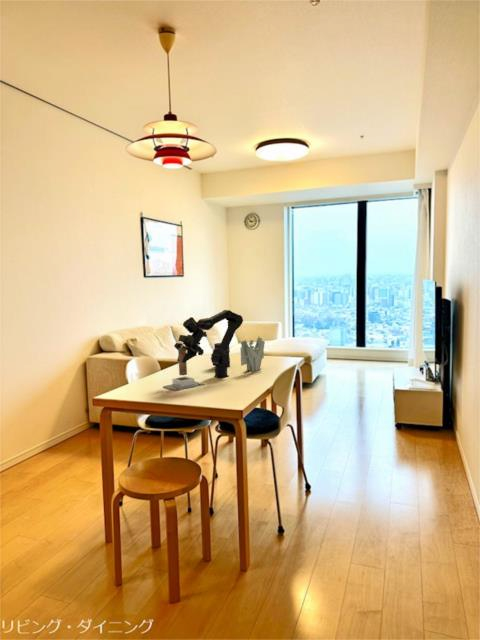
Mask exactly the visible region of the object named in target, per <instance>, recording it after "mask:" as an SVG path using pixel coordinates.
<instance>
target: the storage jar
mask: <svg viewBox="0 0 480 640" xmlns="http://www.w3.org/2000/svg"><path fill="white" fill-rule="evenodd" d="M213 344H214V349H216V350H217V349H218V348H219V346H220V344H221V342H217V343H213ZM214 349H213V350H214ZM230 349H231V348H230V346H229V347H228V349H227V358H226V359H227V360H228V361H229V362H230V364H229V366H228V367H229V368H230V367H231V358H230Z"/></svg>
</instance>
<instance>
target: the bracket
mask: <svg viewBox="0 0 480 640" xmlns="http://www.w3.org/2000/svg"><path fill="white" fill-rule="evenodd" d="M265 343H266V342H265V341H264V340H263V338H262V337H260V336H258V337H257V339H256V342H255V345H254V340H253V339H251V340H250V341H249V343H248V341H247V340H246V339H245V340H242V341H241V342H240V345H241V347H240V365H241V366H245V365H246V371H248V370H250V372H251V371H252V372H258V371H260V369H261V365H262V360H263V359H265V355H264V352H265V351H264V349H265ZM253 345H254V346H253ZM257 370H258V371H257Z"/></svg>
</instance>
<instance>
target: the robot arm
mask: <svg viewBox="0 0 480 640" xmlns="http://www.w3.org/2000/svg"><path fill="white" fill-rule="evenodd" d="M224 320H226V321H227V328H226V331H225V332H224V335H223V337H222V340H221V341H220V343H221V344H220V346H219V348H218V349H217V350H216V349H213V351H212V353H211V355H210V356H211V357H210V361H211V363H212V366H214V375H213V377H214V378H218V379H223V378H228V377H230V375H229V374H228V368H227V367H228V366H229V364H230V365H231V361H230V362H229V361H228V360H227V359H226V358H227V349H228V347H229V348H230V344H231V342H232V340H233V337H234V334H235V333H236V331H237V330H238V329H239V328H240V327H241V326H242V324H243V322H244V319H243V316H242V315H241V314H238V313H235V312H233V311H232V310H230V309H224V310H222V311H221V312H218V313H217V314H214V315H212V316H210V317H205V318H201V319H199V320H198V321H196V320H195V319H194V317H192V316H191V317H189V318H188V319H186V320H185V321H183V323H182V324H183V325H182V326H183V327H184V328H185V329H186V331H188V332H189V333H190V334H187V335H185V334H179V337H178V341H179V342H175V344H174V346H173V347H174V348H175V349H176V350H177V351H178V348H186V355H185V357H184V359H183V363H184V362H186V363H187V362H188V361H189V360H191V359H192V358H194V357H198V356H203V354H204V353H205V352H204V350H205V349H203V348H202V347H201V346H200V345H201V341H202V338H204V337H205V338H207V336H208V335H207V331H209V330H211V329H212V328H213V327H214V326H215V324H217V323H219V322H221V321H224ZM177 363H179V356H177Z"/></svg>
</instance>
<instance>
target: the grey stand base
mask: <svg viewBox="0 0 480 640" xmlns="http://www.w3.org/2000/svg"><path fill="white" fill-rule="evenodd" d="M171 380H172V383H171V384H168V385H162V388H164V389H168V390H171V391H174V392H176V391H177V392H178V391H182V390H187V389H191V388H196V387H200V386H204V385H205V383H203V382H198V381H195V378H193V377H189V376H186V375H183V376H180V377H176V378H175V377H174V378H172V379H171Z"/></svg>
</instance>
